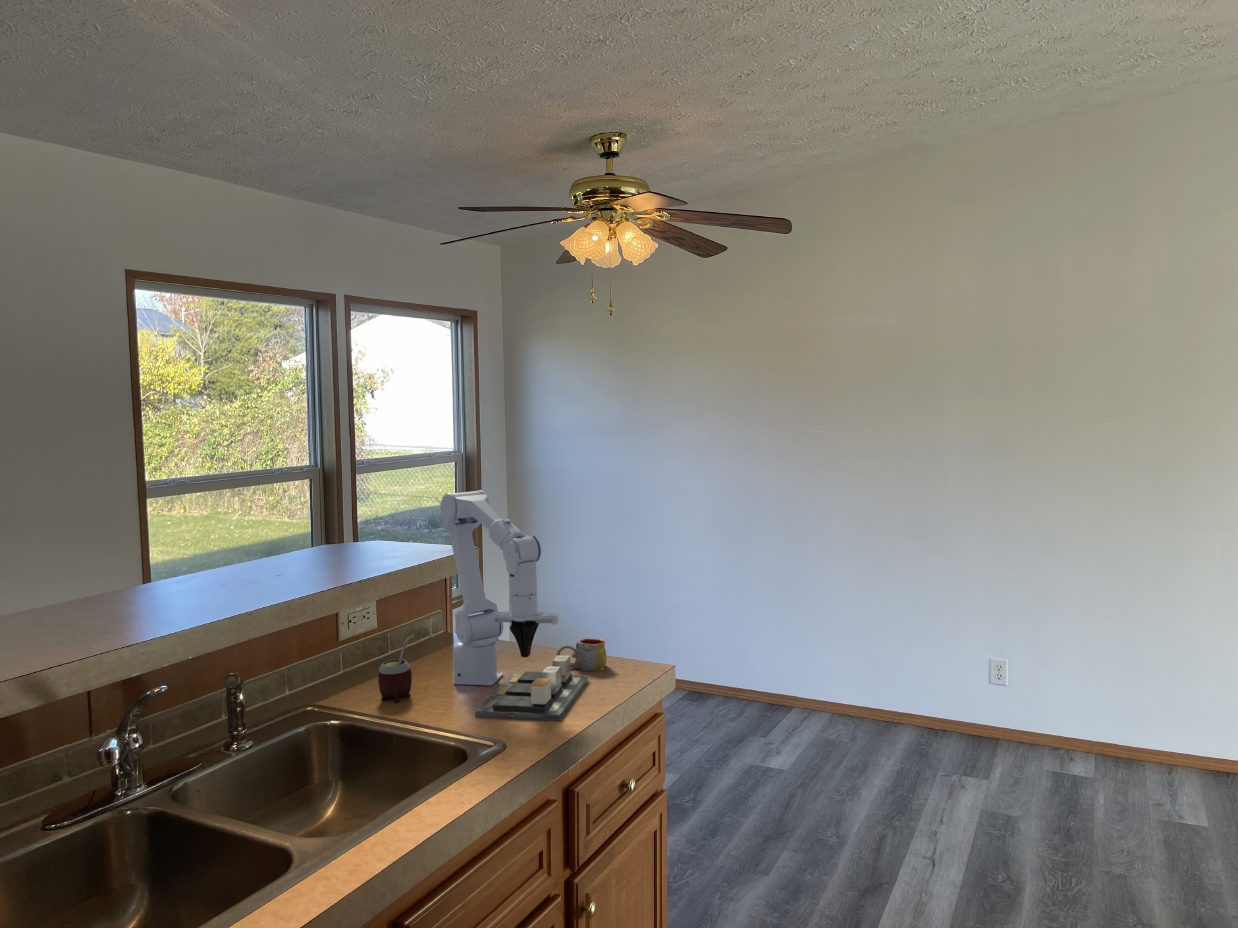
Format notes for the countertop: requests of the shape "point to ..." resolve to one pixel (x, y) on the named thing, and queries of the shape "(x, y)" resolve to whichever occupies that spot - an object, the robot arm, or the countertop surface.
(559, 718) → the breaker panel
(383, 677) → the mate gourd
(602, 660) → the mug
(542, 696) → the block
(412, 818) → the countertop surface
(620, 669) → the countertop surface
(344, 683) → the countertop surface
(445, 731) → the countertop surface
